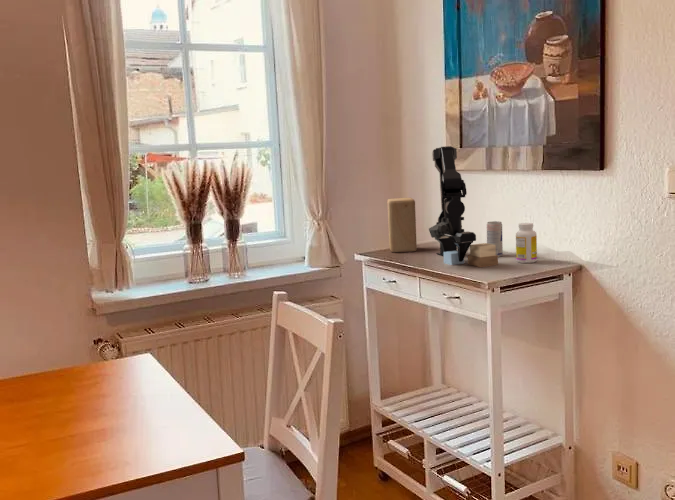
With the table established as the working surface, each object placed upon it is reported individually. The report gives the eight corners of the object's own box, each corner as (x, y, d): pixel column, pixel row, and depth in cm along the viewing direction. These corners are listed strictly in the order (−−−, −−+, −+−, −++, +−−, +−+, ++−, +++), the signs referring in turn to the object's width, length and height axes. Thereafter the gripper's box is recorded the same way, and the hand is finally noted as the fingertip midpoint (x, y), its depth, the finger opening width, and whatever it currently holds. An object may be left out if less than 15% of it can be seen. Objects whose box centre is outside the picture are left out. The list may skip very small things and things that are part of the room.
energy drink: (503, 254, 244) (502, 221, 242) (501, 257, 239) (501, 223, 237) (488, 254, 246) (487, 221, 244) (486, 257, 241) (485, 223, 239)
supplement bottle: (534, 259, 231) (534, 221, 229) (538, 263, 224) (538, 224, 222) (514, 260, 232) (514, 222, 230) (517, 263, 225) (517, 225, 223)
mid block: (470, 255, 228) (469, 244, 228) (485, 253, 231) (485, 242, 230) (480, 257, 223) (480, 246, 222) (495, 255, 225) (495, 245, 224)
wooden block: (417, 251, 260) (415, 199, 257) (390, 253, 260) (388, 200, 257) (414, 247, 270) (412, 197, 267) (389, 249, 270) (387, 198, 267)
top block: (443, 263, 234) (443, 252, 233) (456, 261, 235) (455, 250, 235) (451, 265, 229) (451, 253, 228) (464, 263, 231) (464, 252, 230)
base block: (468, 265, 229) (467, 255, 229) (485, 263, 232) (485, 252, 231) (480, 268, 223) (480, 257, 222) (497, 266, 225) (497, 255, 225)
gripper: (417, 214, 235) (419, 259, 237) (447, 218, 218) (448, 266, 220) (445, 211, 239) (446, 255, 242) (476, 215, 222) (477, 262, 225)
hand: (453, 259), depth 232 cm, fingers open, 8 cm apart
